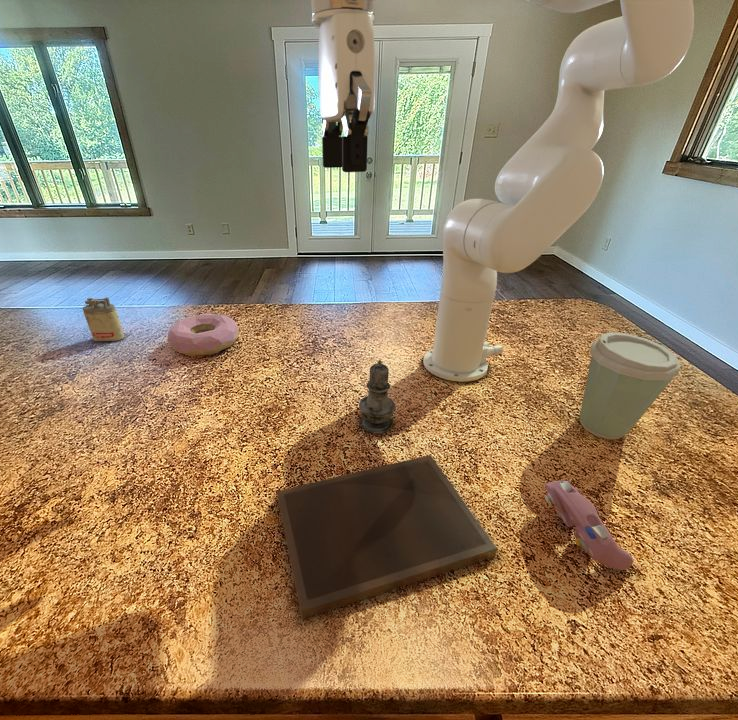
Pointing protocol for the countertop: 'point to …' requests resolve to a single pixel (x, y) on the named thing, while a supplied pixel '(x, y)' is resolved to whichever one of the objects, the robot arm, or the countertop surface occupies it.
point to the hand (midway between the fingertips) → (343, 169)
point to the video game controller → (587, 525)
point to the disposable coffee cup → (623, 382)
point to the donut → (203, 334)
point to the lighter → (103, 320)
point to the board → (376, 533)
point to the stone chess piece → (377, 401)
